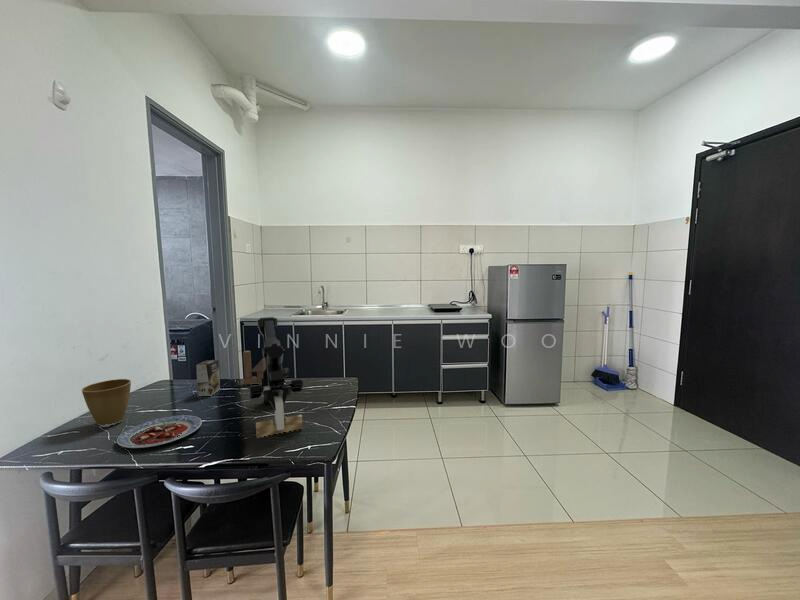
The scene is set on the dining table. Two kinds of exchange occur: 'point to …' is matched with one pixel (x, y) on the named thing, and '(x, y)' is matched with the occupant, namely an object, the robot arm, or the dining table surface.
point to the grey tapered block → (279, 413)
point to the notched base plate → (268, 428)
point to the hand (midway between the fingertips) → (279, 409)
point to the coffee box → (208, 377)
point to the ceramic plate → (159, 431)
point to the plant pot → (107, 400)
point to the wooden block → (248, 371)
